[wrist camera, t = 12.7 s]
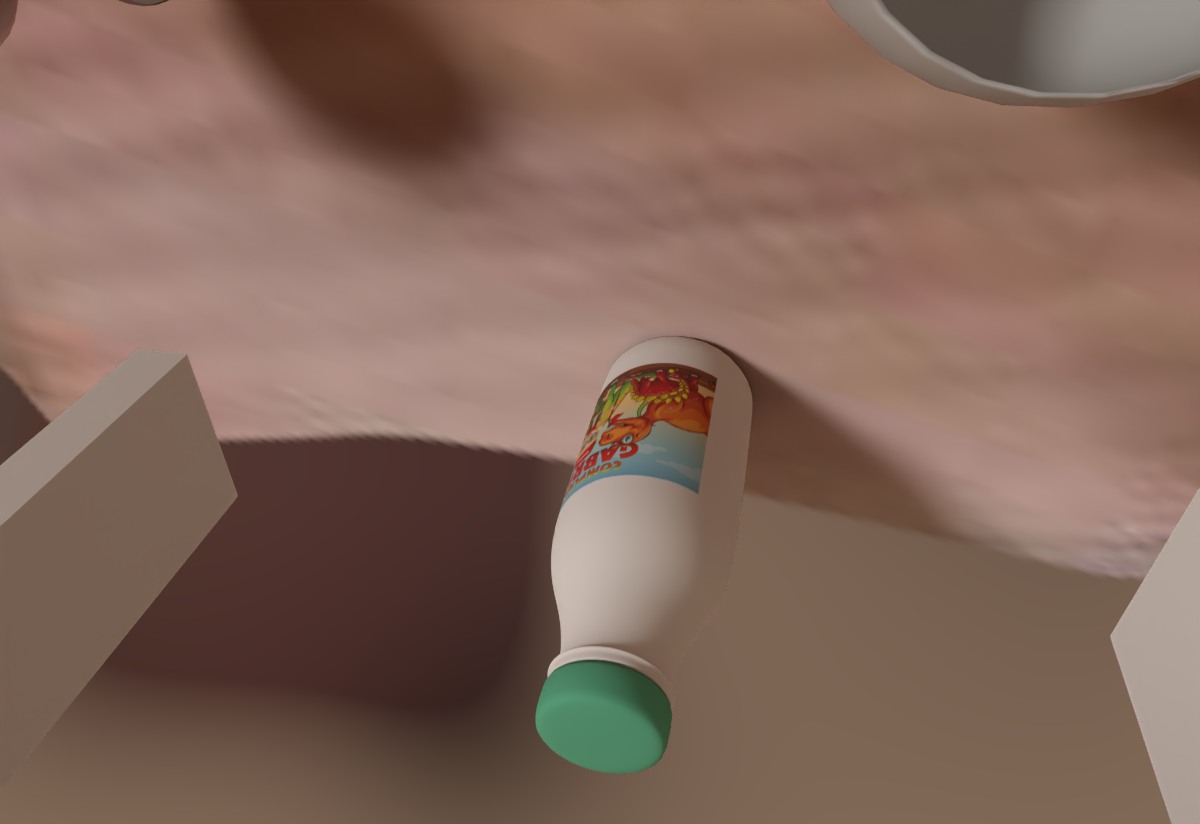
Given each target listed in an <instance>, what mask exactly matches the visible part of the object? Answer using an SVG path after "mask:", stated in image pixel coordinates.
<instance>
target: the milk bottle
mask: <svg viewBox="0 0 1200 824" xmlns="http://www.w3.org/2000/svg"><path fill="white" fill-rule="evenodd" d="M752 408H753V400H752V393H751V389H750V386H749V384H748V381H747V379H746V378H745V376H744V374H743V373H742V371H741V370H740V368H739V367H738V366H737V365H736V364H735V363H734V362H733V360H732V359H731V358H730V357H729V356H727V355H726V354H725V353H723V352H722V351H721V350H719V349H718V348H716V347H714V346H712V345H710V344H708V343H706V342H703V341H699V340H696V339H693V338H687V337H679V336H670V337H659V338H655V339H650V340H647V341H645V342H643V343H640V344H638V345H636V346H634V347H632V348H631V349H629V350H628V351H626V352H625V353H624V354H622V355H621V356H620V357H619V358H618V359H617V361H616V362H615V363H614V365H613V366H612V368H611V369H610V371H609V374H608V376H607V378H606V381H605V383H604V385H603V388H602V391H601V394H600V396H599V399H598V402H597V405H596V408H595V410H594V413H593V416H592V419H591V422H590V424H589V427H588V430H587V433H586V436H585V438H584V441H583V444H582V447H581V450H580V453H579V456H578V458H577V461H576V464H575V467H574V470H573V473H572V476H571V479H570V482H569V485H568V488H567V491H566V493H565V497H564V500H563V503H562V507H561V510H560V513H559V517H558V520H557V524H556V527H555V533H554V538H553V544H552V556H551V571H552V582H553V588H554V594H555V598H556V602H557V607H558V612H559V616H560V625H561V652H560V655H558V656H557V657H556V658H555V659H554V660H553V661H552V663H551V664H550V667H549V669H548V678H547V680H546V681H545V684H544V686H543V689H542V692H541V695H540V698H539V702H538V706H537V710H536V727H537V730H538V733H539V735H540V736H541V738H542V739H543V740H544V742H545V743H546V744H547V745H548V746H549V747H550V748H551V749H552V750H553V751H554V752H556V753H557V754H558V755H560V756H561V757H563V758H565V759H566V760H568V761H570V762H572V763H574V764H577V765H579V766H582V767H585V768H588V769H591V770H595V771H599V772H606V773H615V774H616V773H619V774H624V773H633V772H638V771H642V770H644V769H647V768H649V767H651V766H653V765H655V764H656V763H657V762H658V761H659V760H660V759H661V758H662V756H663V754H664V752H665V750H666V747H667V743H668V739H669V734H670V728H671V719H672V711H671V710H672V708H673V706H674V702H675V693H674V689H673V687H672V684H671V680H672V678H673V675H674V673H675V671H676V669H677V667H678V665H679V663H680V661H681V660H682V658H683V656H684V655H685V653H686V652H687V650H688V649H689V648H690V646H691V645H692V644H693V643H694V641H695V640H696V639H697V638H698V637H699V635H700V634H701V633H702V632H703V631H704V629H705V628H706V627H707V625H708V624H709V623H710V621H711V620H712V618H713V616H714V615H715V613H716V611H717V610H718V608H719V606H720V604H721V602H722V599H723V597H724V595H725V592H726V590H727V587H728V583H729V580H730V577H731V573H732V569H733V563H734V558H735V552H736V546H737V540H738V533H739V524H740V517H741V509H742V501H743V493H744V485H745V476H746V467H747V459H748V450H749V441H750V431H751V422H752Z"/></svg>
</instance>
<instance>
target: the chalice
mask: <svg viewBox="0 0 1200 824" xmlns="http://www.w3.org/2000/svg"><path fill="white" fill-rule="evenodd" d="M827 1H828V3H829V4H830V6H831V8H832V9H833V10H834V11H835V12H836V13H837V15H838V16H840V17H841V18H842V19H843V20H844V21H845V22H846V23H847V24H848V25H849V26H850V27H851V28H852V29H853V30H854V31H855V32H856V33H857V34H858V35H859V36H860V37H861V38H862V39H863V40H865V41H866V42H867V43H868V44H869V45H870V46H871V47H872V48H873V49H874V50H875V51H876V52H877V53H878V54H879V55H880V56H881V57H883V58H885V59H886V60H888V61H890V62H892V63H894V64H895V65H897V66H899V67H901V68H903V69H904V70H906V71H908V72H910V73H911V74H913V75H915V76H917V77H919V78H920V79H922V80H924V81H926V82H928V83H929V84H931V85H933V86H935V87H938V88H941V89H944V90H948V91H951V92H955V93H959V94H963V95H966V96H970V97H974V98H978V99H981V100H985V101H989V102H993V103H996V104H1000V105H1014V106H1041V107H1068V108H1069V107H1082V106H1088V105H1094V104H1100V103H1106V102H1111V101H1117V100H1123V99H1129V98H1135V97H1141V96H1147V95H1153V94H1155V93H1158V92H1161V91H1164V90H1166V89H1169V88H1172V87H1175V86H1178V85H1180V84H1183V83H1186V82H1189V81H1192V80H1194V79H1197V78H1200V0H827Z"/></svg>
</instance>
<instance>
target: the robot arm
mask: <svg viewBox="0 0 1200 824" xmlns="http://www.w3.org/2000/svg"><path fill="white" fill-rule="evenodd" d="M237 496H238V495H237V492H236V489H235V486H234V484H233V481H232V478H231V475H230V473H229V470H228V467H227V464H226V461H225V459H224V456H223V453H222V451H221V448H220V445H219V442H218V439H217V436H216V434H215V431H214V428H213V425H212V423H211V420H210V417H209V414H208V411H207V409H206V406H205V403H204V400H203V398H202V395H201V392H200V389H199V386H198V384H197V381H196V378H195V375H194V373H193V370H192V367H191V364H190V361H189V359H188V356H187V354H180V353H172V352H165V351H157V350H150V349H142V348H139V349H137V350H136V351H135V352H134V353H133V354H132V355H130V356H129V357H128V358H127V359H126V360H124V361H123V362H122V363H121V364H120V365H119V366H117V367H116V368H115V369H114V370H113V371H111V372H110V373H109V374H108V375H107V376H106V377H104V378H103V379H102V380H101V381H100V382H98V383H97V384H96V385H95V386H94V387H93V388H91V389H90V390H89V391H88V392H87V393H85V394H84V395H83V396H82V397H81V398H80V399H78V400H77V401H76V402H75V403H74V404H72V405H71V406H70V407H69V408H68V409H67V410H65V411H64V412H63V413H62V414H61V415H59V416H58V417H57V418H56V419H55V420H54V421H52V422H51V423H50V424H49V425H48V426H47V427H45V428H44V429H43V430H42V431H41V432H39V433H38V434H37V435H36V436H35V437H34V438H32V439H31V440H30V441H29V442H28V443H26V444H25V445H24V446H23V447H22V448H21V449H20V450H18V451H17V452H16V453H15V454H13V455H12V456H11V457H10V458H9V459H8V460H6V461H5V462H4V463H3V464H2V465H0V791H1V790H2V788H3V787H4V786H5V784H6V783H7V782H8V781H9V780H10V778H11V777H12V776H13V775H14V773H15V772H16V771H17V770H18V768H19V767H20V766H21V765H22V763H23V762H24V761H25V760H26V759H27V757H28V756H29V755H30V754H31V752H32V751H33V750H34V749H35V747H36V746H37V745H38V744H39V742H40V741H41V740H42V739H43V737H44V736H45V735H46V734H47V733H48V731H49V730H50V729H51V728H52V726H53V725H54V724H55V723H56V721H57V720H58V719H59V717H60V716H61V715H62V714H63V712H64V711H65V710H66V709H67V708H68V706H69V705H70V704H71V703H72V702H73V700H74V699H75V698H76V697H77V695H78V694H79V693H80V692H81V690H82V689H83V688H84V687H85V685H86V684H87V683H88V682H89V680H90V679H91V678H92V677H93V675H94V674H95V673H96V672H97V670H98V669H99V668H100V667H101V665H102V664H103V663H104V662H105V661H106V659H107V658H108V657H109V656H110V654H111V653H112V652H113V651H114V649H115V648H116V647H117V646H118V644H119V643H120V642H121V641H122V639H123V638H124V637H125V636H126V634H127V633H128V632H129V631H130V629H131V628H132V627H133V626H134V625H135V623H136V622H137V621H138V620H139V618H140V617H141V616H142V615H143V613H144V612H145V611H146V610H147V608H148V607H149V606H150V605H151V603H152V602H153V601H154V600H155V598H156V597H157V596H158V595H159V593H160V592H161V591H162V590H163V589H164V587H165V586H166V585H167V583H168V582H169V581H170V580H171V579H172V577H173V576H174V575H175V574H176V572H177V571H178V570H179V569H180V567H181V566H182V565H183V564H184V562H185V561H186V560H187V559H188V557H189V556H190V555H191V553H192V552H193V551H194V550H195V549H196V548H197V546H198V545H199V543H200V542H201V541H202V540H203V539H204V538H205V536H206V535H207V534H208V533H209V531H210V530H211V528H213V526H214V525H215V524H216V523H217V521H218V520H219V519H220V518H221V516H222V515H223V514H224V513H225V512H226V510H227V509H228V508H229V506H230V505H231V504H232V503H233V502H234V500H235V499H236V498H237ZM1110 637H1111V641H1112V644H1113V647H1114V650H1115V653H1116V656H1117V659H1118V662H1119V665H1120V668H1121V671H1122V674H1123V677H1124V680H1125V683H1126V686H1127V689H1128V692H1129V696H1130V698H1131V701H1132V704H1133V708H1134V710H1135V714H1136V717H1137V720H1138V723H1139V726H1140V729H1141V732H1142V735H1143V738H1144V741H1145V744H1146V747H1147V750H1148V753H1149V756H1150V759H1151V762H1152V766H1153V768H1154V772H1155V775H1156V778H1157V781H1158V784H1159V787H1160V790H1161V793H1162V795H1163V799H1164V802H1165V805H1166V808H1167V811H1168V814H1169V817H1170V820H1171V823H1172V824H1200V488H1199V489H1198V491H1197V492H1196V494H1195V496H1194V497H1193V499H1192V501H1191V502H1190V504H1189V506H1188V507H1187V509H1186V511H1185V512H1184V514H1183V516H1182V517H1181V519H1180V521H1179V522H1178V524H1177V526H1176V527H1175V529H1174V531H1173V532H1172V534H1171V536H1170V537H1169V539H1168V541H1167V542H1166V544H1165V546H1164V547H1163V549H1162V551H1161V552H1160V554H1159V556H1158V557H1157V559H1156V561H1155V562H1154V564H1153V566H1152V567H1151V569H1150V571H1149V572H1148V574H1147V576H1146V577H1145V579H1144V581H1143V582H1142V584H1141V586H1140V587H1139V589H1138V591H1137V592H1136V594H1135V596H1134V597H1133V599H1132V601H1131V602H1130V604H1129V606H1128V607H1127V609H1126V611H1125V612H1124V614H1123V616H1122V617H1121V619H1120V621H1119V623H1118V624H1117V626H1116V627H1115V629H1114V631H1113V632H1112V634H1111V636H1110Z"/></svg>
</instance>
